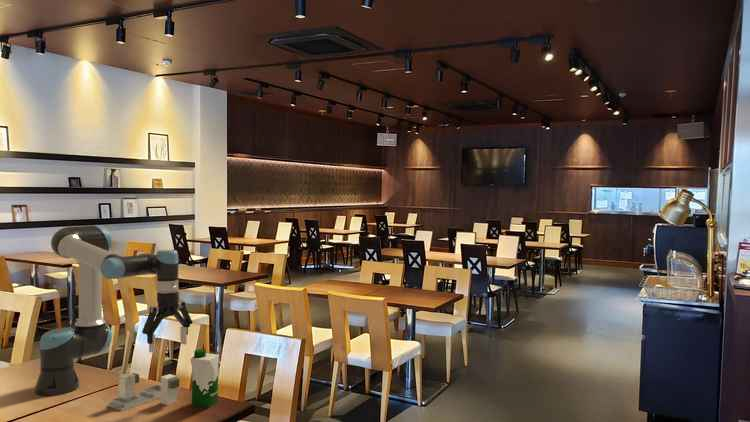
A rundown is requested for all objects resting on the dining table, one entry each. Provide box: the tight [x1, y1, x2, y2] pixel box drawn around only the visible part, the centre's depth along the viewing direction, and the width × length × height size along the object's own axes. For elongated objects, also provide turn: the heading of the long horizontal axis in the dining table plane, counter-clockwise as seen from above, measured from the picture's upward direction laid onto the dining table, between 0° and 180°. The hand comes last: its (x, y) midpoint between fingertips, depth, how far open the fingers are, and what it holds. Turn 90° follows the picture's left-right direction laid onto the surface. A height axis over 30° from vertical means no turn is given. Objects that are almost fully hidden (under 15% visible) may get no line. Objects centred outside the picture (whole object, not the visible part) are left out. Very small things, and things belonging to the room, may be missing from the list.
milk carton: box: [190, 348, 220, 409], centre depth 208 cm, size 9×9×20 cm
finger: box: [160, 373, 180, 406], centre depth 208 cm, size 6×4×10 cm, turn 57°
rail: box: [107, 372, 161, 412], centre depth 212 cm, size 8×22×11 cm, turn 147°
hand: (168, 348), depth 207 cm, fingers open, 13 cm apart
